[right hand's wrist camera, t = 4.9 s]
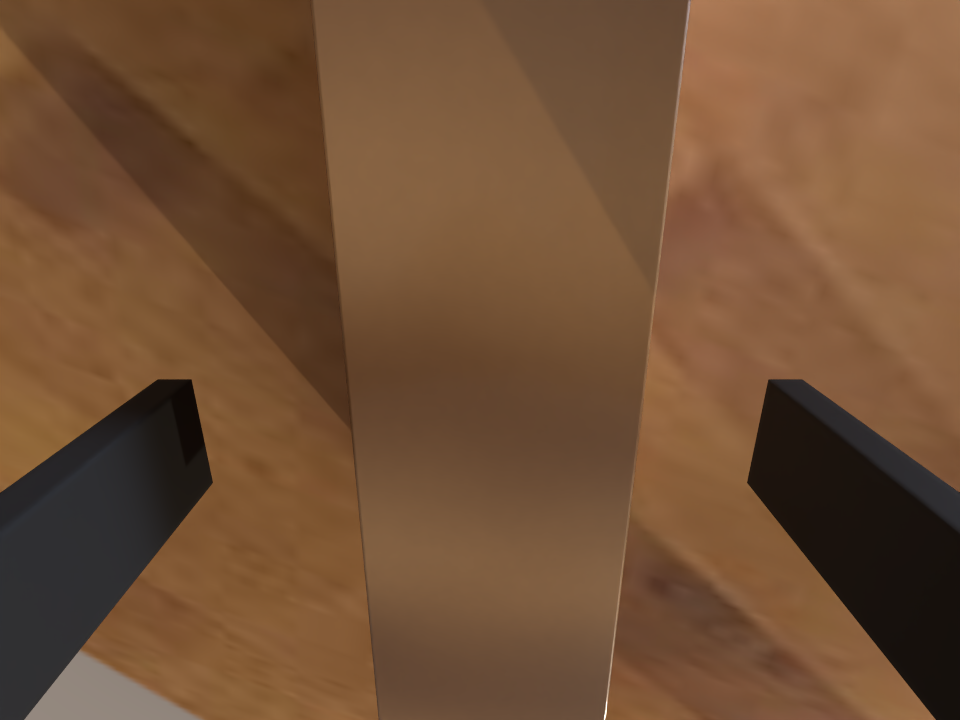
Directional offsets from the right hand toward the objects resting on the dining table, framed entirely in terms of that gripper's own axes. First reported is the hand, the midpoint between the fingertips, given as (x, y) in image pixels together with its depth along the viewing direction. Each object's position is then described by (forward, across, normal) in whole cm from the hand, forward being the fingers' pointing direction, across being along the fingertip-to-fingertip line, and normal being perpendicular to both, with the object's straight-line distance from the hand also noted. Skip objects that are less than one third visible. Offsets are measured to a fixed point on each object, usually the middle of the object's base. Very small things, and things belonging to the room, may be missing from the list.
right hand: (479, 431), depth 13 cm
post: (+6, 0, -23) cm, 24 cm away
